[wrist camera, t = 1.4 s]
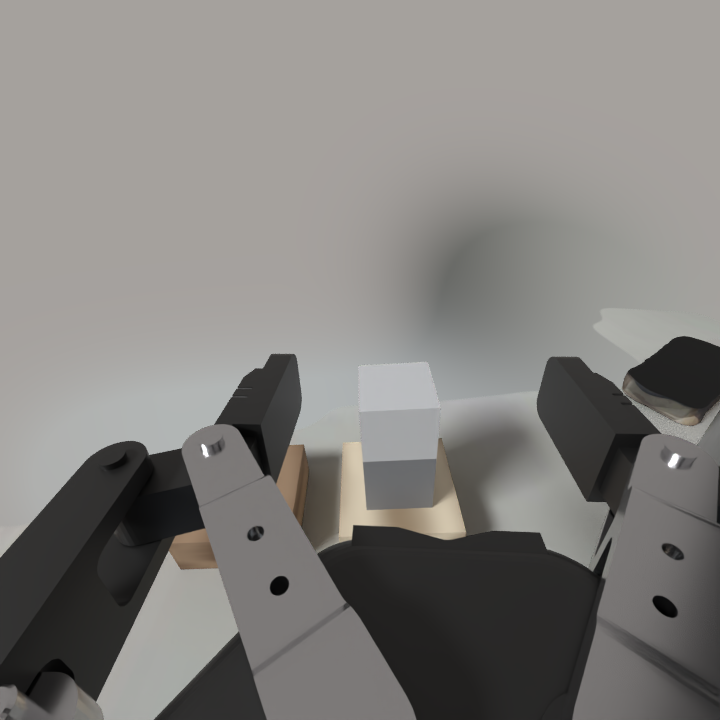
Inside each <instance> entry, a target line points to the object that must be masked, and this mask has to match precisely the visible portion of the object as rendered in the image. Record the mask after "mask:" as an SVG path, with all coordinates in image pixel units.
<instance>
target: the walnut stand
mask: <svg viewBox="0 0 720 720" xmlns="http://www.w3.org/2000/svg"><path fill="white" fill-rule="evenodd" d="M308 475H309V467H308V462H307V458H306V453H305V448H304V445H289V447H288V450H287V453H286V456H285V459H284V462H283V465H282V468H281V471H280V474H279V477H278V480H277V483H276V485H277V487H278V488H279V490H280V492H281V494H282V495H283V497H284V499H285V500H286V502H287V504H288V506H289V507H290V509H291V511H292V512H293V514H294V516H295V518H296V519H297V521H298V523H299V524H300V526H301V527H302V520H303V512H304V505H305V497H306V490H307V483H308ZM169 552H170V553H171V555H172V556H173V558H174V559H175V561H176V562H177V564H178V566H179V567H180V569H205V568H218V565H217V562H216V559H215V556H214V553H213V550H212V547H211V544H210V541H209V538H208V535H207V532H206V529H201V530H197V531H193V532H189V533H185V534H181V535H177V536H175V538H174V540H173V542H172V544H171V547H170V549H169Z"/></svg>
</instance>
